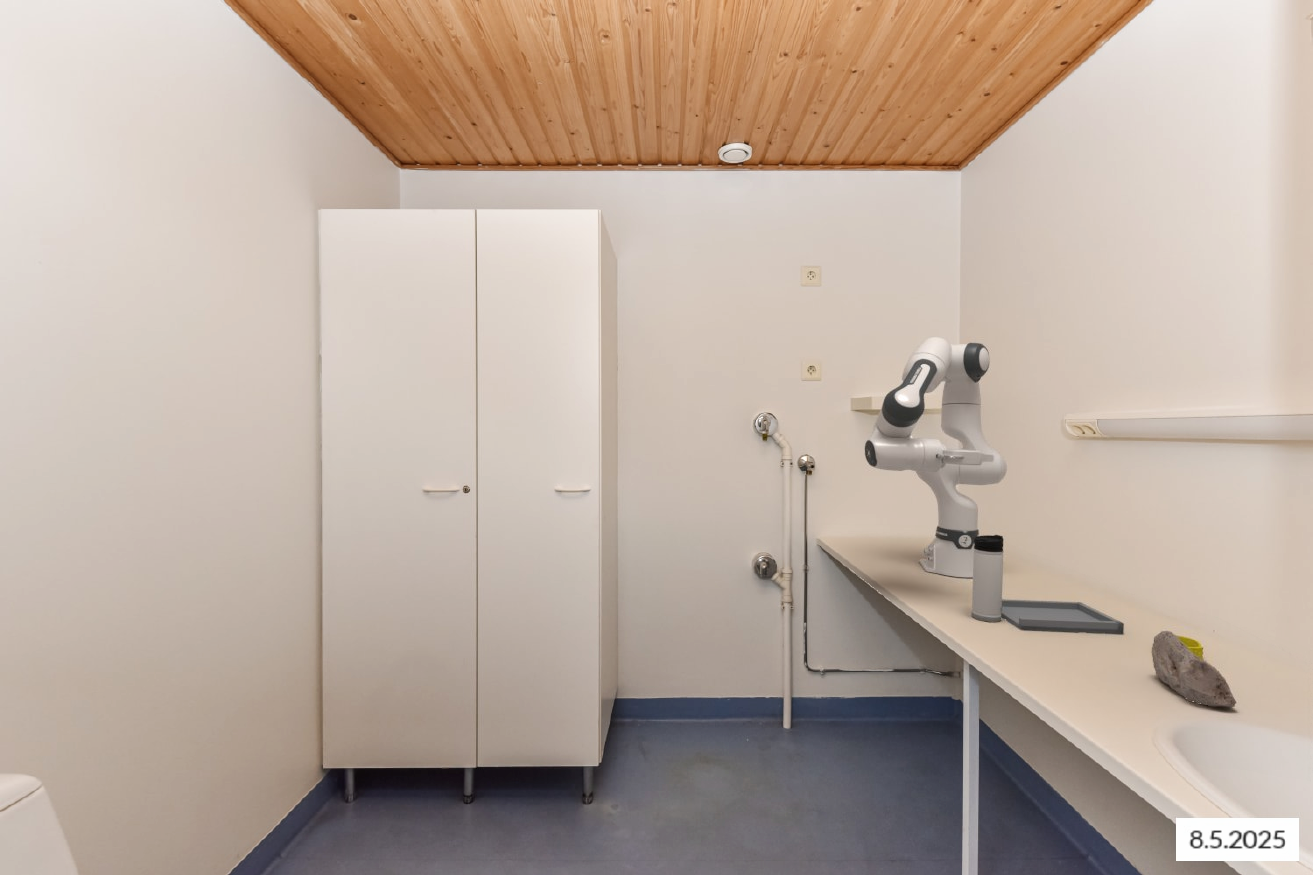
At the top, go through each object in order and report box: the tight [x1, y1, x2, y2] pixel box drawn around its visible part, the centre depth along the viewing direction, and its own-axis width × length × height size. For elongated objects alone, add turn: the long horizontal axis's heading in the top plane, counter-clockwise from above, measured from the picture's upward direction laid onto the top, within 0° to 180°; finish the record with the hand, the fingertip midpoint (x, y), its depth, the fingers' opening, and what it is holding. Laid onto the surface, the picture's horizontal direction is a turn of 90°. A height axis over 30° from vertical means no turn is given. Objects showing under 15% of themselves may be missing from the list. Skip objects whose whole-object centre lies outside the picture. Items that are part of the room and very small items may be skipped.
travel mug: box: [971, 534, 1004, 623], centre depth 147 cm, size 6×7×20 cm
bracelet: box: [1175, 634, 1204, 660], centre depth 125 cm, size 7×8×3 cm
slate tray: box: [1001, 598, 1125, 635], centre depth 146 cm, size 16×22×2 cm
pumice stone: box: [1151, 630, 1237, 708], centre depth 107 cm, size 15×8×10 cm, turn 163°
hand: (983, 457), depth 159 cm, fingers open, 8 cm apart
